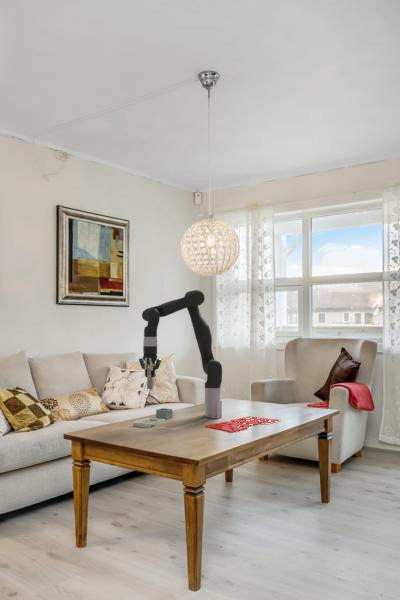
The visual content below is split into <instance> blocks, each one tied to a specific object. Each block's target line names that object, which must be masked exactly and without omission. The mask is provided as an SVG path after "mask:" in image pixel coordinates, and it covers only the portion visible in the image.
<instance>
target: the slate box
mask: <svg viewBox="0 0 400 600" xmlns="http://www.w3.org/2000/svg"><path fill="white" fill-rule="evenodd" d="M155 418H158V419H165V421H166V420H171V419H172V418H173V409H172V408H167V407H166V408H165V407H162V408H157V409H156V410H155Z"/></svg>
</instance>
